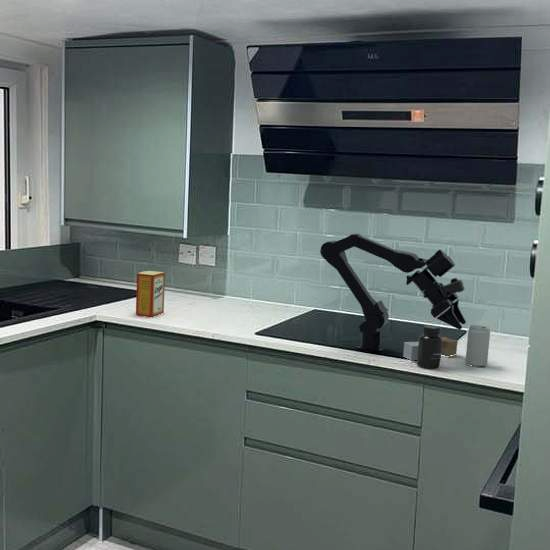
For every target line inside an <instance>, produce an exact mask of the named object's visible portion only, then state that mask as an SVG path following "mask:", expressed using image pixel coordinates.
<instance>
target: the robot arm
mask: <svg viewBox="0 0 550 550" xmlns="http://www.w3.org/2000/svg"><path fill="white" fill-rule="evenodd" d="M354 247H355V248H357V249H359V250H362V251H363V252H366V253H367V254H368V253H369V254H370V255H373V256H376V257H378V258H380V259H382V260H385V261H387V262H389V263H390V264H391V265H393V267H395V268H397V269H398V270H400V271H401V272H403V273H406V274H409V273H412V272H414V271H415V272H414V273H413V274H411V275H406V276H405V277H406V282H405V284H406V285H407V286H409V285H410V284H411V283H414V285H415V286H416V287H417V288H418V290H419V291H420V292H421V293H422V294H423V298H424V299H427V300H428V301H429V302H430V304H431V305H432V306H431V307H432V308H431V309H430V314H431V316H432V317H433V318H434V319H436V320H438V321H441V322H444V323H445V324H447V325H450V326H452V327H453V328H455V329H457V330H459V331H460V330H462V329H463V326H462V325H465V324H467V323H466V322H467V321H466V319H465V316H464V315H463V313H462V311H461V309H460V308H459V305H460V304H459V302H460V298H459V296H458V294H457V293H461V292H464V291H465V286H464V282H463V280H462V279H458V278H457V277H455V278H454V277H453V278H451V279H450V283H448V284H445V285H444V284H443V283H442V282H438V280H437V279H436V277H437V276H438V277H439V278H441V277H443V276H445V275H446V274H447V273H448V272H449V271H450V270H452V268H454V267H455V266H456V264H455V262H454V261H453V260H452V258H451V257H450V255H447V254H446V253H445V252H444V251H442V249H438V250H437V251H436V252H435V253H434V254H433V255H432V256H430V258H428V259H426V258H423V257H419V256H418V254H416V253H414V252H409V251H405V250H400V249H394V248H391V247H389V246H386V245H384V244H382V243H380V242H377V241H375V240H372V239H370V238H367V237H365V236H363V235H362V234H360V233H352V234H350V235H349V236H347V237H344V238H342V239H339V240H329V241H326V242H324V243H323V244H322V245H321V247H320V251H319V252H320V255H321V257H322V258H323V259H324V260H325V261H326V262H327V264H328V265H330V266H331V267H332V268H334V269H335V270H336V271H337V272H338V273H339V275H340V277H341V278H342V280H343V281H344V284H346V285H347V287H348V288H349V290H350V292H351V293H352V294H353V296H354V297H355V299H356V301H357V302H358V304H359V305H360V307H361V311H362V314H363V317H364V318H365V321H363V322H362V323H361V324H360V325H359V326H358V328H359V331H360V339H359V342H360V343H359V345H356V346H355V348H356V349H358V348H359V349H358V350H360V349H361V351H362V350H364V351H363V352H365V351H366V353H373V352H372V351H378V352H384V349H382V348H380V347H381V332H380V330H382V328H383V326H385V325H386V324H387V323H388V321H389V318H390V314H389V313H388V311H389V309H388V308H387V307H386V306H385V305H384V303H383V301H382V300H379V301H377V300H375V299H374V298H373V297H372V295H371V294H370V292H369V291H368V289H367V288H366V286H365V285H364V283H363V282H362V280H361V279H360V277H359V276H358V275H357V273H356V272H355V269H354V268H353V267H352V266H351V265H350V263H349V261H348V258H347V254H346V253H347V252H346V251H348V250H350V249H352V248H354ZM425 266H426V267H425ZM422 268H424V269H422ZM416 269H417V270H416ZM419 269H422V270H419Z"/></svg>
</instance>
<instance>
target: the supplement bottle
mask: <svg viewBox="0 0 550 550" xmlns="http://www.w3.org/2000/svg"><path fill="white" fill-rule="evenodd" d="M422 332H423V334H421V335H420V336H419V338H418V342H419V345H418V355H417V362H416V365H417V366H418V367H419V368H423V369H426V370H429V369H430V370H436V368H437V369H439V368H440V366H441V358H442V356H441V350H442V338H443V337H442V336H440V334H441V328H440V327H439V326H436V325H424V326H423V329H422Z"/></svg>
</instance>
